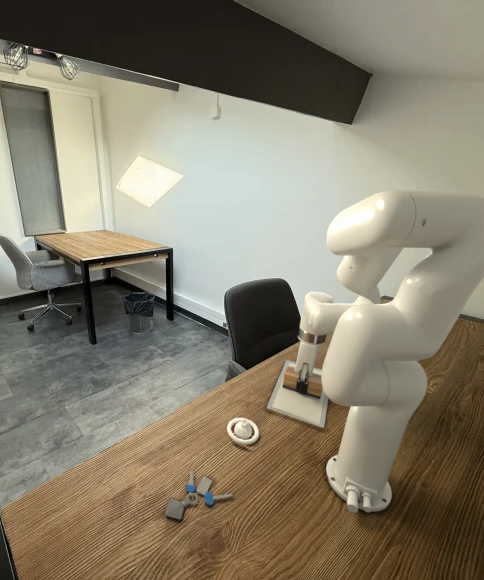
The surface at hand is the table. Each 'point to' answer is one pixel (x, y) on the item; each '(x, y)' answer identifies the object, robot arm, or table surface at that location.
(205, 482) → the key chain
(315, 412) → the whiteboard
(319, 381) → the eraser
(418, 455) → the table surface
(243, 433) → the ring around a ball
